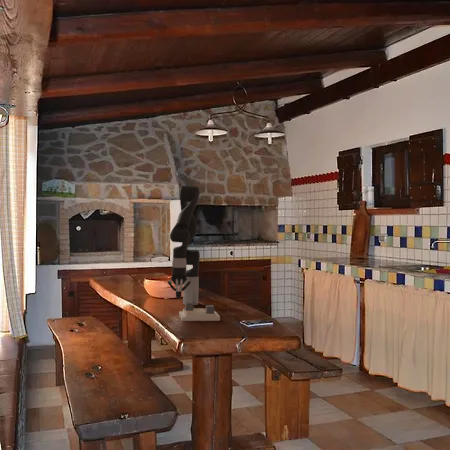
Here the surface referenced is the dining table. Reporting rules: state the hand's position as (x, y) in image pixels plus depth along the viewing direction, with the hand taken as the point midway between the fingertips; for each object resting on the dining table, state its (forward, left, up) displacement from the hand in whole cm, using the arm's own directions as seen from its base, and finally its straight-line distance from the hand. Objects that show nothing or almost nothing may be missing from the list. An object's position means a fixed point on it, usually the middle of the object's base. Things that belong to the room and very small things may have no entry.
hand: (178, 298), depth 295 cm
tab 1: (0, +6, -8) cm, 10 cm away
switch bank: (+4, +11, -10) cm, 15 cm away
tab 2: (+9, +16, -7) cm, 20 cm away
